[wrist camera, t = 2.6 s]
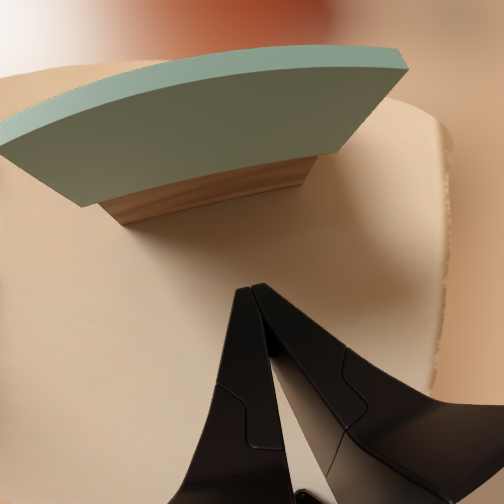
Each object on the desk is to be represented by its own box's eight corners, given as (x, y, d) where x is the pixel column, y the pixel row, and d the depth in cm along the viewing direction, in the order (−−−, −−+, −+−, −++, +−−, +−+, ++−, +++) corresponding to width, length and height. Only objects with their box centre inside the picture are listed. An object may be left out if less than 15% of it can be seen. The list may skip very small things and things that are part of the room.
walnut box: (301, 185, 24) (327, 139, 17) (121, 225, 22) (84, 190, 16) (273, 104, 25) (286, 47, 19) (113, 137, 24) (85, 87, 17)
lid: (331, 137, 17) (336, 152, 17) (80, 190, 15) (81, 207, 15) (397, 49, 9) (408, 69, 9) (-4, 124, 7) (-7, 149, 7)
